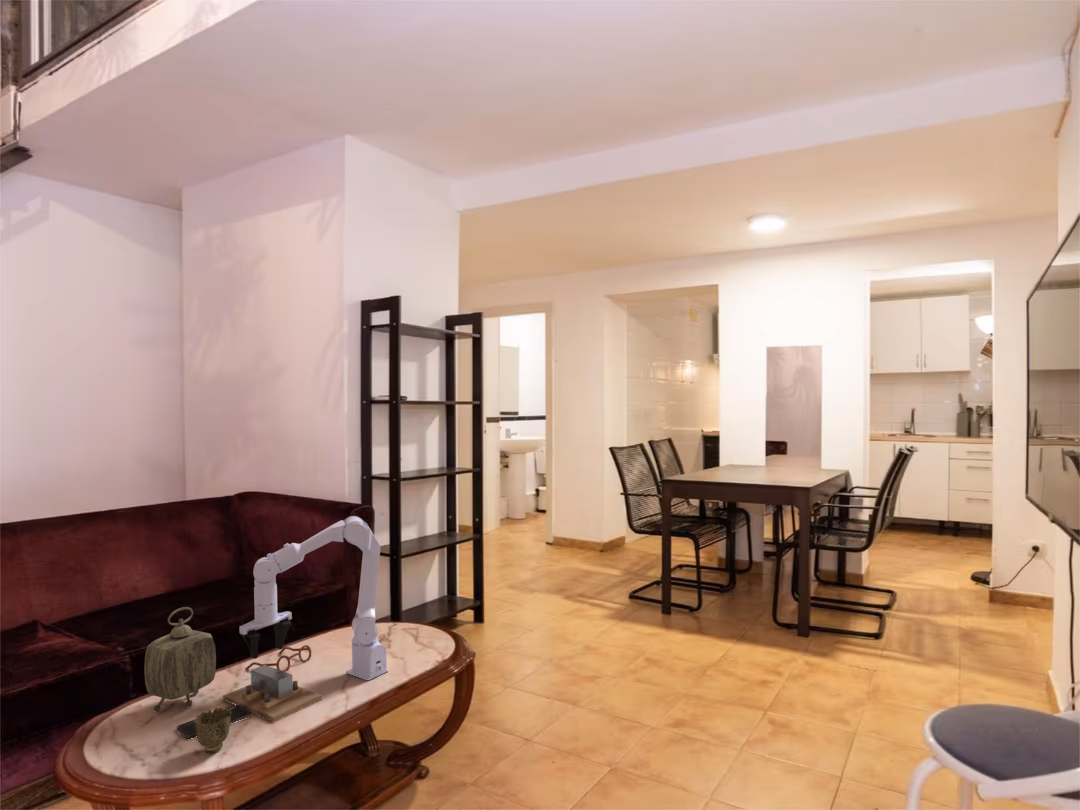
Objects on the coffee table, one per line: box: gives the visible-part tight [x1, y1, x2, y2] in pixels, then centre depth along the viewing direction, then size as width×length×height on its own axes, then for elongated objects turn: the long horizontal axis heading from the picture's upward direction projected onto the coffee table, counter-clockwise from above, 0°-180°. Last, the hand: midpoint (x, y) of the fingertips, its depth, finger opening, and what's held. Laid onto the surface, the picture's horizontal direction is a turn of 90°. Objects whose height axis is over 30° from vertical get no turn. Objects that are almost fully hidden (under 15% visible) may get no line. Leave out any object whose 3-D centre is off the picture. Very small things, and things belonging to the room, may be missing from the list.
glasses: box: [246, 644, 312, 673], centre depth 197 cm, size 13×13×5 cm
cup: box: [193, 707, 231, 754], centre depth 149 cm, size 8×7×8 cm
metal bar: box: [250, 665, 293, 700], centre depth 173 cm, size 12×4×5 cm, turn 56°
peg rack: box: [222, 680, 323, 723], centre depth 173 cm, size 22×14×4 cm, turn 56°
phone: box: [176, 705, 251, 740], centre depth 161 cm, size 8×1×15 cm
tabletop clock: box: [143, 606, 217, 713], centre depth 171 cm, size 14×9×25 cm, turn 154°
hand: (267, 652), depth 180 cm, fingers open, 7 cm apart
